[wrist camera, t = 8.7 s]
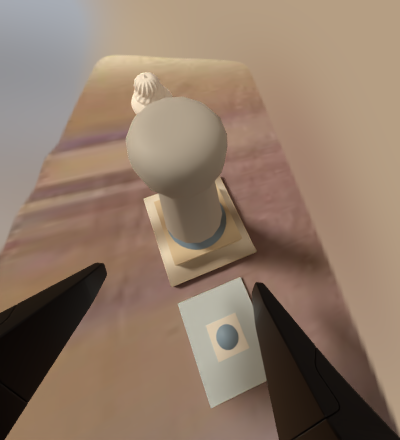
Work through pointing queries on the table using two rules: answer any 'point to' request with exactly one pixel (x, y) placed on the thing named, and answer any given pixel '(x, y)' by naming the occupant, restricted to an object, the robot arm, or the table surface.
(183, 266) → the foundation
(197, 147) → the beige mushroom knob
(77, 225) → the table surface
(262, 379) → the pale grey rectangular tile
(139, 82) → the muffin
